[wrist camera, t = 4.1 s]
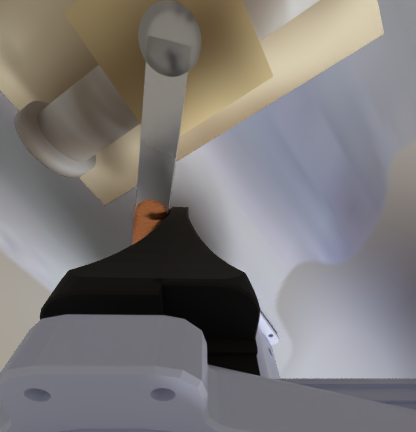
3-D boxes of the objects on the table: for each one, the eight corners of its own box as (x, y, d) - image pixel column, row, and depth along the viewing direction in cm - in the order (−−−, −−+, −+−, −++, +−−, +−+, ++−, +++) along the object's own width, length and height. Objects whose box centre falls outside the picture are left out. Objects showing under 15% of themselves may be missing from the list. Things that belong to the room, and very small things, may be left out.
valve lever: (148, 2, 8) (136, -14, 7) (206, 17, 9) (207, 5, 7) (129, 269, 14) (121, 291, 12) (165, 274, 14) (161, 296, 13)
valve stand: (374, 36, 14) (484, 7, 8) (108, 200, 18) (69, 251, 13) (304, -287, 9) (452, -820, 4) (-33, 41, 13) (-187, 16, 8)
